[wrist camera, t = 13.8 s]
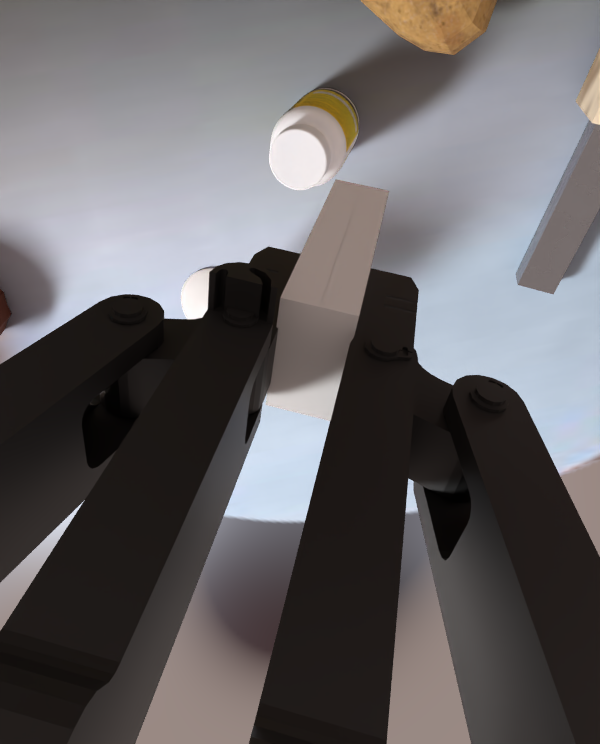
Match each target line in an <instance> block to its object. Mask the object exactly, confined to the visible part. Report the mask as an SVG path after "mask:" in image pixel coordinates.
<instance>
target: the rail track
mask: <svg viewBox="0 0 600 744" xmlns="http://www.w3.org/2000/svg"><path fill="white" fill-rule="evenodd" d="M599 209H600V125H598V124H594V123H592V122H591V121H590V120H589V122H588V124H587V126H586V128H585V130H584V132H583V135H582V137H581V139H580V141H579V143H578V145H577V147H576V149H575V151H574V153H573V155H572V158H571V160H570V162H569V164H568V166H567V168H566V170H565V172H564V174H563V176H562V178H561V180H560V183H559V185H558V187H557V189H556V191H555V193H554V195H553V197H552V199H551V201H550V203H549V206H548V208H547V210H546V212H545V214H544V216H543V218H542V220H541V222H540V224H539V226H538V228H537V231H536V233H535V235H534V237H533V239H532V241H531V243H530V245H529V247H528V249H527V251H526V254H525V256H524V258H523V260H522V262H521V264H520V266H519V268H518V270H517V272H516V278H517V284H518V285H521V286H525V287H528V288H532V289H536V290H539V291H543V292H547V293H550V294H554V292H555V290H556V288H557V286H558V285H559V283H560V281H561V279H562V277H563V275H564V273H565V272H566V270H567V268H568V266H569V264H570V262H571V261H572V259H573V257H574V255H575V253H576V251H577V249H578V248H579V246H580V244H581V242H582V240H583V238H584V237H585V235H586V233H587V231H588V229H589V227H590V225H591V224H592V222H593V220H594V218H595V216H596V214H597V212H598V211H599Z"/></svg>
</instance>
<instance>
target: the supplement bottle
mask: <svg viewBox="0 0 600 744" xmlns="http://www.w3.org/2000/svg"><path fill="white" fill-rule="evenodd" d="M358 133H359V117H358V113H357V110H356V108H355V106H354V105H353V103H352V102H351V100H350V99H349V98H348V97H347V96H346V95H344V94H343V93H341V92H339V91H337V90H334V89H330V88H320V89H316V90H313V91H311V92H309V93H307V94H306V95H305V96H303V97H302V98H301V99H300V100H299V101H298V102H297V103H296V104H295V105H294V106H293V107H292V108H291V109H290V110H288V111H287V112H286V113H285V114H284V115H283V116H282V117H281V118H280V120H279V121H278V122H277V124H276V126H275V128H274V130H273V133H272V136H271V145H270V147H271V148H270V152H269V163H270V167H271V170H272V172H273V174H274V175H275V177H276V178H277V179H278V181H280V182H281V183H282V184H283V185H285V186H286V187H288V188H291V189H295V190H305V189H309V188H311V187H314V186H319V185H322V184H324V183H326V182H328V181H329V180H331V179H332V178H333V177H334V176H335V175H336V174H337V173H338V171H339V170H340V169H341V167H342V165H343V163H344V162H345V160H346V158H347V156H348V154H349V153H350V151H351V149H352V148H353V146H354V144H355V142H356V140H357V137H358Z"/></svg>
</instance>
